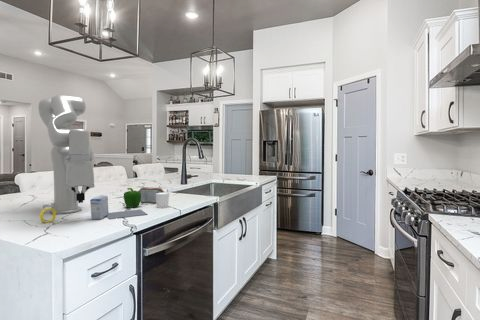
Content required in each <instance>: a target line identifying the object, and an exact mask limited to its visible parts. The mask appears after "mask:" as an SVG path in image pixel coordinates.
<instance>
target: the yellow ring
mask: <svg viewBox="0 0 480 320" xmlns="http://www.w3.org/2000/svg"><path fill="white" fill-rule="evenodd" d="M51 210H52V212H53V213H52V217H51V219H49V220H45V219H44V214H45V212H47V211H51ZM56 217H57V214H56V211H55V210H54V209H52V207H46V208H44V209H43V210H41V212H40V214H39V219H40V221H41V222H42V223H43V224H47V223H51V222H53V221H54V220H55V219H56Z"/></svg>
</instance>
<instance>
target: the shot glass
mask: <svg viewBox="0 0 480 320" xmlns="http://www.w3.org/2000/svg"><path fill="white" fill-rule="evenodd" d="M169 199H170V193H169V192H161V193H156V203H155V204H156V207H157V208H159V209H164V208H168V207H169Z"/></svg>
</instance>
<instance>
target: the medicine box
mask: <svg viewBox="0 0 480 320" xmlns="http://www.w3.org/2000/svg"><path fill="white" fill-rule="evenodd" d="M89 202H90V203H89V204H90V215H91V220H101V219H103V218H105V217H107V216H106V215H108V214H109V213H110V212H109V198H108V195H97V196H95V197H93V198H91V199H90V201H89Z"/></svg>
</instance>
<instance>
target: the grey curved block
mask: <svg viewBox="0 0 480 320" xmlns="http://www.w3.org/2000/svg"><path fill="white" fill-rule="evenodd" d="M138 191H140V192H141V201H140V203H142V204H157V203H156V193H161V192H164V190H163V189H162V188H160V187H146V186H145V187H142V188H140V189H138Z"/></svg>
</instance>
